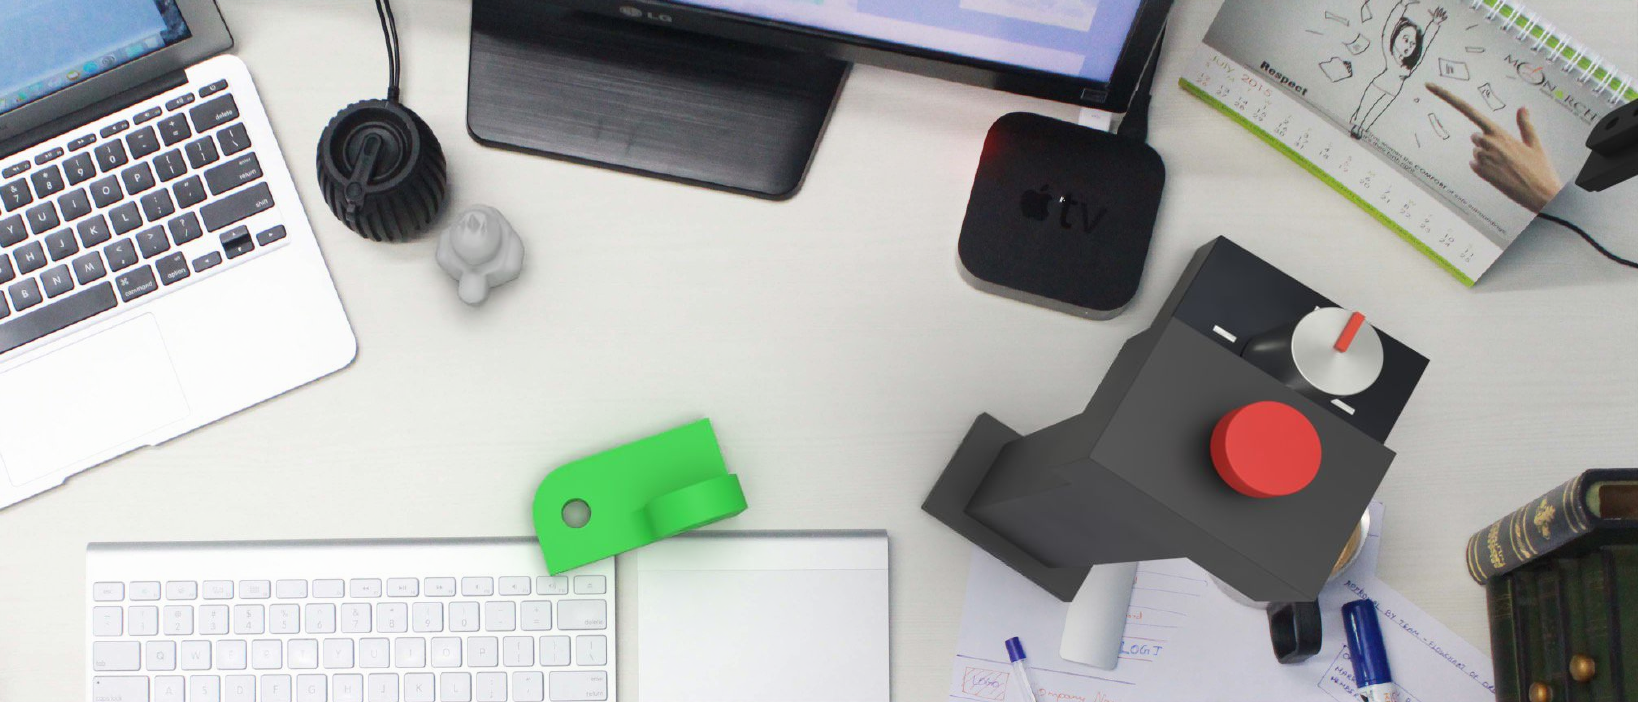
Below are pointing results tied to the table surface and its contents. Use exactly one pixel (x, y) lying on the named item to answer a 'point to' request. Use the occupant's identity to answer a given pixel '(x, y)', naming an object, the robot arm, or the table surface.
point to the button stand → (1158, 479)
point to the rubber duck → (480, 252)
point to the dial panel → (1254, 296)
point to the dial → (1320, 354)
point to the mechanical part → (636, 496)
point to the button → (1266, 449)
